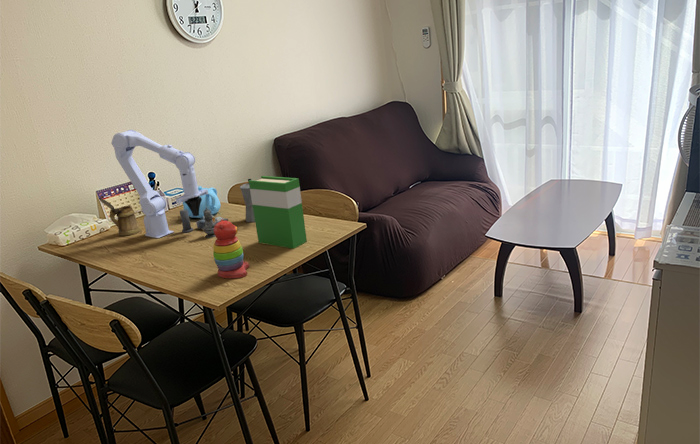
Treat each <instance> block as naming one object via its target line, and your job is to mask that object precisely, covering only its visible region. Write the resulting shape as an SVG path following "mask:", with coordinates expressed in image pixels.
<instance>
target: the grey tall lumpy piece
mask: <svg viewBox="0 0 700 444" xmlns="http://www.w3.org/2000/svg"><path fill="white" fill-rule="evenodd" d="M203 213H204V220H205V227H203V229H202V230H203V232H204V233H205V234H206V235H204V237H205V238H206V239H212V238H216V236H215V234H214V227H215V225H214V223H213V217H212V216H213V215H211V211H210V210H209V209H207V207H206V209H205V210H204V211H203Z"/></svg>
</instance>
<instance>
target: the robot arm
mask: <svg viewBox="0 0 700 444" xmlns="http://www.w3.org/2000/svg"><path fill="white" fill-rule="evenodd" d="M110 144H111V145H112V147H113V148H114V154H115V158H116V160H117V161H118V163H119V165H120V166H121V168H122V170H123V171H124V173H125V174H126V176H127V177H128V179H129V181H130V182H131V184H132V186H133V187H134V189H135V190H136V192H137V193H138V195H139V200H138V202H139V203H138V204H139V205H140V207H141V211H142V213H143V214H144V215H145V216H143V225H144V228H145V233H146V234H144V236H145V237H150V238H153V239H155V238H156V239H159V238H162V237H165V236H168V235H170V234H172V233H174V230H170V229H169V225H168V220H167V216H166V210H165V209H166V206H167V201H166V199H165V198H164V197H163V196H161V195H160V193H159V191H156V190H154V189H153V188H152V187H151V185H150V183H149V182H148V180H147V178H146V177H145V175H144V173H143V172H142V170H141V169H140V167H139V166H138V164H137V162H136V160H135V159H134V158H133V152H134V149H135V148H136V147H142V148H144V149H147V150H150V151H152V152H154V153H157V154H158V155H159V158H160V159H162V160H165V161H167V162H169V163H170V164H174V166H175V167H176V168H177V170H178V171H179V174H180V180H181V184H182V185H181V186H182V189H183V190H182V191H183V195H181V196H178V197H177V198H175V203H176V204H182V203H183V202H185V203H186V204H187V205H188V207H189V208H190V210H191V212H192V214H193V216H198V215H199V208H200V203H201V201H202V198H201V197H199V196H202V195H205V194H208V190H207V189H203V190H198V186H199V185H198V182H197V177H196V176H197V175H196V170H195V165H194V164H195V162H196V157H195V156H194V154H192V153H191V152H190V151H189V152H188V151H186V152H184V151H183V150H181V149H177V148H175V147H173V145H172V144H164V145H162V144H160V143H158V142H156V141H155V140H152V139H151V138H149V137H146V135H143V134H142V133H141V132H139V131H136V130H134V129H128V130H126V131H122V132H117V133H115V134H114V135H113V137H112V140H111V143H110Z"/></svg>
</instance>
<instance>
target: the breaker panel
mask: <svg viewBox="0 0 700 444" xmlns="http://www.w3.org/2000/svg"><path fill="white" fill-rule="evenodd" d="M203 217H204V216H203ZM212 217H213V223H214V225H216V224H217V223H218V222H220V221H221V220H222V219H223V220H224V221H229V218H227V217H226V218H225V217H222V216H215V215H212ZM203 227H205V220H204V219H199V220H198V221H196V228H197V229H198V230H203Z"/></svg>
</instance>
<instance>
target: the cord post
mask: <svg viewBox="0 0 700 444" xmlns="http://www.w3.org/2000/svg"><path fill="white" fill-rule="evenodd" d="M179 214H180V215H179V216H180V220H181V224H182V230H181V232H182V233H183V234H187V233H188V234H189V233H191V232H193V231H194V228H193V227H192V226H191V221H190V217H189V215H188V210H184V209H181V210H179Z"/></svg>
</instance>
